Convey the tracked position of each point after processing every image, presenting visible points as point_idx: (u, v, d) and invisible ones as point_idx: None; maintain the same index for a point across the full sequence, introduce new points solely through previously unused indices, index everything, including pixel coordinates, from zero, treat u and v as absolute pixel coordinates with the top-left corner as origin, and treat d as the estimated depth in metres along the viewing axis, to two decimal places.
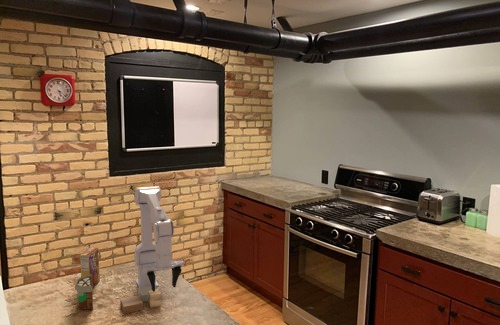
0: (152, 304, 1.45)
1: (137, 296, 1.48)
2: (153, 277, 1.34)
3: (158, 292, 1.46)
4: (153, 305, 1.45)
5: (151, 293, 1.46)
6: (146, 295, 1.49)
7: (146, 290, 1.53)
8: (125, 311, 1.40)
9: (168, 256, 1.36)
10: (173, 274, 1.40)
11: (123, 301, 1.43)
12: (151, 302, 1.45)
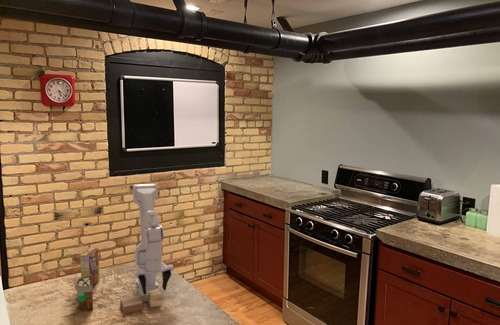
0: (152, 304, 1.45)
1: (137, 296, 1.48)
2: (144, 280, 1.42)
3: (158, 292, 1.46)
4: (153, 305, 1.45)
5: (151, 293, 1.46)
6: (146, 295, 1.49)
7: (146, 290, 1.53)
8: (125, 311, 1.40)
9: (158, 260, 1.43)
10: (163, 278, 1.48)
11: (123, 301, 1.43)
12: (151, 302, 1.45)
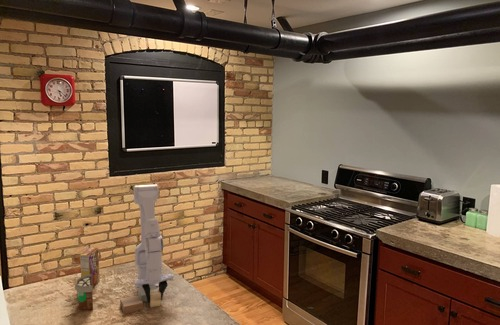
0: (152, 304, 1.45)
1: (137, 296, 1.48)
2: (148, 290, 1.43)
3: (158, 292, 1.46)
4: (153, 305, 1.45)
5: (151, 293, 1.46)
6: None
7: None
8: (125, 311, 1.40)
9: (158, 270, 1.44)
10: (159, 288, 1.48)
11: (123, 302, 1.43)
12: (151, 302, 1.45)
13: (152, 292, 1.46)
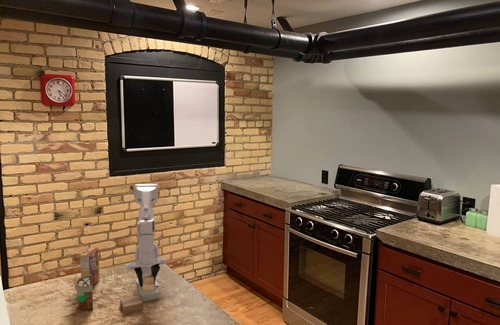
0: (145, 288, 1.43)
1: (137, 296, 1.48)
2: (140, 273, 1.41)
3: (151, 276, 1.45)
4: (146, 289, 1.43)
5: (144, 277, 1.44)
6: (146, 295, 1.49)
7: None
8: (125, 311, 1.40)
9: (151, 253, 1.42)
10: (152, 271, 1.46)
11: (123, 302, 1.43)
12: (144, 286, 1.43)
13: (145, 276, 1.44)
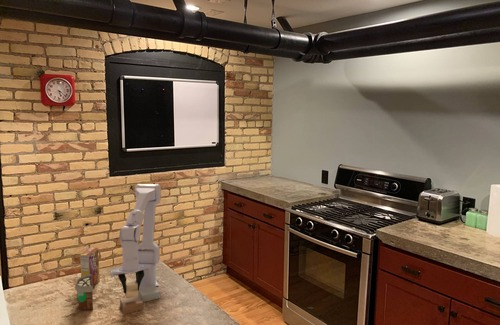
0: (128, 295, 1.41)
1: None
2: (124, 279, 1.40)
3: (135, 283, 1.43)
4: (129, 296, 1.42)
5: (127, 284, 1.42)
6: (146, 295, 1.49)
7: (146, 290, 1.53)
8: (126, 311, 1.40)
9: (134, 260, 1.40)
10: (136, 278, 1.44)
11: (123, 302, 1.43)
12: (127, 293, 1.41)
13: (129, 283, 1.43)
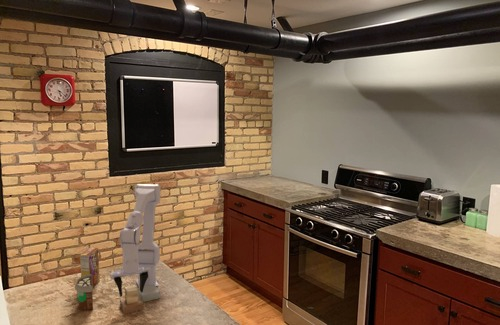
0: (129, 300, 1.42)
1: None
2: (120, 283, 1.39)
3: (135, 288, 1.44)
4: (130, 301, 1.42)
5: (128, 289, 1.43)
6: (146, 295, 1.49)
7: (146, 290, 1.53)
8: (126, 311, 1.40)
9: (134, 262, 1.41)
10: (140, 279, 1.45)
11: (123, 302, 1.43)
12: (128, 298, 1.42)
13: (129, 288, 1.43)
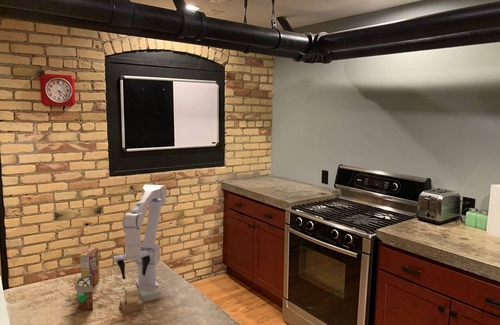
0: (129, 300, 1.42)
1: None
2: (123, 266, 1.44)
3: (135, 288, 1.44)
4: (130, 301, 1.42)
5: (128, 289, 1.43)
6: (146, 295, 1.49)
7: (146, 290, 1.53)
8: (125, 311, 1.40)
9: (137, 246, 1.45)
10: (143, 263, 1.50)
11: (123, 302, 1.43)
12: (128, 298, 1.42)
13: (129, 288, 1.43)
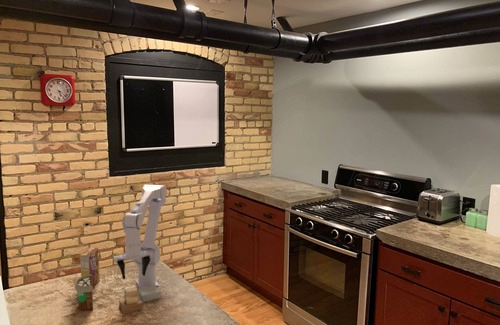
0: (128, 301, 1.42)
1: None
2: (123, 266, 1.44)
3: (134, 288, 1.43)
4: (129, 302, 1.42)
5: (127, 290, 1.42)
6: (147, 295, 1.49)
7: (146, 290, 1.53)
8: (125, 311, 1.40)
9: (137, 246, 1.45)
10: (143, 263, 1.50)
11: (123, 302, 1.43)
12: (127, 299, 1.41)
13: (128, 289, 1.43)
